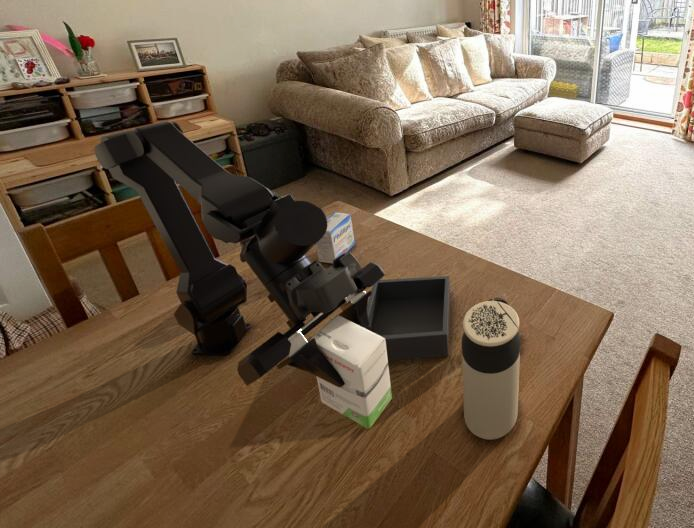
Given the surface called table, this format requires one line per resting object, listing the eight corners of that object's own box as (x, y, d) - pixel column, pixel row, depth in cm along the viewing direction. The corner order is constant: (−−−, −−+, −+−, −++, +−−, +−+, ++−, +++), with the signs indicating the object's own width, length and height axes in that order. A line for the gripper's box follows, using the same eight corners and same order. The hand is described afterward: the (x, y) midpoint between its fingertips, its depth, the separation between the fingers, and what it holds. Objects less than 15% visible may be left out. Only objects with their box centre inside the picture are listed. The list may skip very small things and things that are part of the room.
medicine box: (335, 265, 90) (330, 232, 87) (318, 262, 91) (311, 229, 88) (355, 244, 97) (350, 213, 94) (338, 242, 98) (333, 211, 95)
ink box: (393, 398, 56) (388, 336, 51) (368, 432, 52) (359, 368, 47) (346, 372, 59) (337, 312, 54) (318, 402, 55) (306, 339, 50)
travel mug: (474, 450, 55) (472, 354, 49) (457, 399, 62) (453, 308, 55) (526, 427, 58) (531, 333, 52) (505, 381, 65) (507, 292, 58)
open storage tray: (359, 363, 67) (356, 341, 65) (376, 300, 81) (374, 280, 79) (448, 356, 69) (447, 334, 67) (450, 295, 82) (449, 275, 81)
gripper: (228, 299, 40) (322, 426, 40) (369, 212, 55) (437, 303, 55) (203, 328, 46) (283, 439, 46) (336, 243, 62) (397, 325, 61)
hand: (358, 369), depth 52 cm, fingers closed on ink box, 5 cm apart
